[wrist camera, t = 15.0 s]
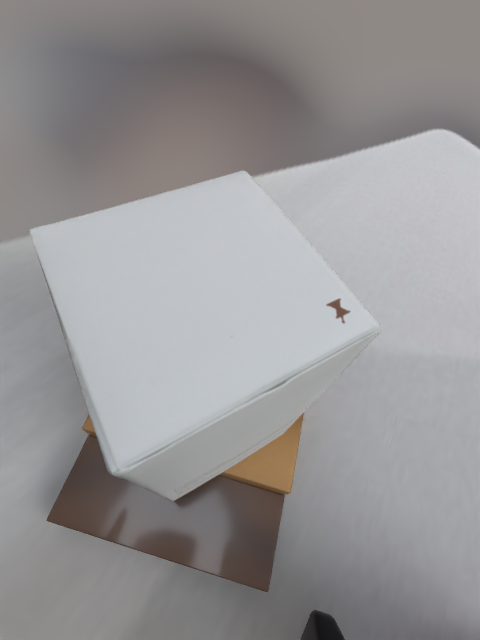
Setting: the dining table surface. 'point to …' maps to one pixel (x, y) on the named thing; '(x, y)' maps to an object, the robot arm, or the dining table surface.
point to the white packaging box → (196, 327)
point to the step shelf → (188, 511)
